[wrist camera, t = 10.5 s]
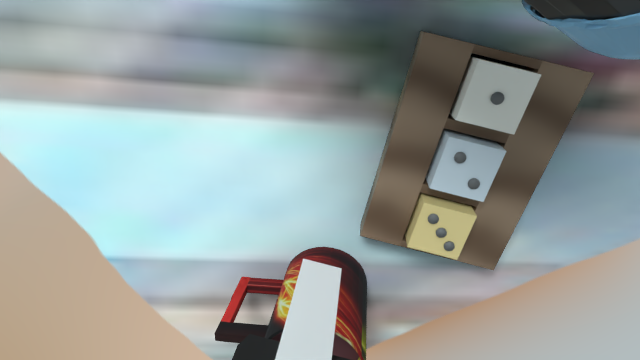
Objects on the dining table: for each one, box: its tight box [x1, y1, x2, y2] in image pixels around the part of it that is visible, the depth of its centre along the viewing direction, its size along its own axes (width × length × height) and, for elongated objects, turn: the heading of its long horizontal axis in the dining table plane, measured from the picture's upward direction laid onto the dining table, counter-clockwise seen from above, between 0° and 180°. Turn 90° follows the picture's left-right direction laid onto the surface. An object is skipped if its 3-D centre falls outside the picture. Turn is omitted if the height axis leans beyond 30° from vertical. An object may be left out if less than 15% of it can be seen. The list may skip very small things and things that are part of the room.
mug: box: [215, 247, 367, 360], centre depth 39 cm, size 10×14×12 cm
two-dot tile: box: [426, 128, 506, 202], centre depth 34 cm, size 5×5×4 cm
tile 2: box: [450, 56, 541, 135], centre depth 32 cm, size 5×5×4 cm
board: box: [360, 31, 594, 270], centre depth 35 cm, size 20×14×2 cm
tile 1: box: [405, 192, 477, 260], centre depth 37 cm, size 5×5×4 cm
